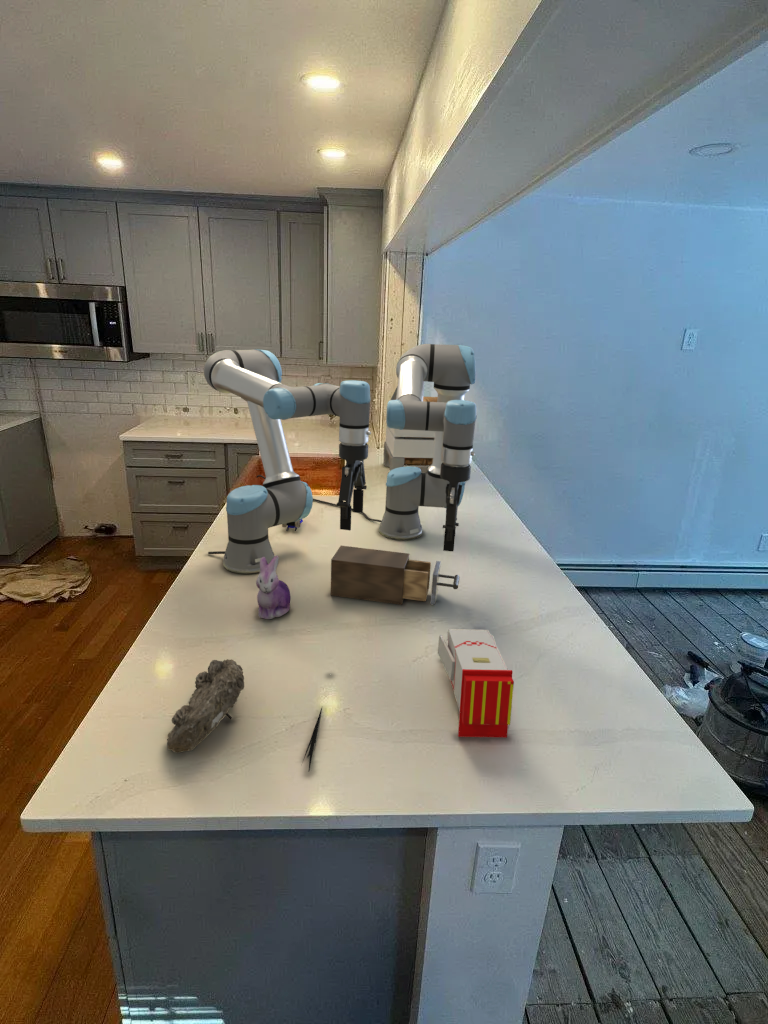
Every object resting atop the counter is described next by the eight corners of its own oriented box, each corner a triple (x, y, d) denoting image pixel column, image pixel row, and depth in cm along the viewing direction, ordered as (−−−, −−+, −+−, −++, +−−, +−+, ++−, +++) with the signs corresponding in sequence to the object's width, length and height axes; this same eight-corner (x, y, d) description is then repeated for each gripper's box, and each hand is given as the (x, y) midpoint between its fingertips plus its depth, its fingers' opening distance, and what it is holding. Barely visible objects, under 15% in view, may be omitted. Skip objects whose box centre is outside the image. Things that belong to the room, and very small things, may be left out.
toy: (488, 613, 130) (523, 677, 101) (484, 667, 133) (517, 744, 104) (435, 612, 130) (455, 676, 101) (432, 666, 133) (451, 743, 103)
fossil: (192, 660, 117) (244, 628, 112) (224, 691, 120) (276, 661, 115) (142, 746, 98) (202, 712, 93) (182, 779, 101) (242, 748, 96)
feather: (331, 679, 122) (336, 673, 122) (307, 777, 96) (313, 769, 95) (324, 675, 122) (329, 669, 121) (298, 772, 95) (304, 764, 95)
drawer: (458, 592, 158) (461, 563, 155) (455, 608, 150) (459, 577, 147) (373, 581, 162) (374, 553, 159) (366, 596, 154) (367, 566, 151)
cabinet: (407, 588, 161) (409, 553, 158) (401, 604, 152) (404, 568, 148) (340, 579, 165) (340, 545, 161) (330, 595, 155) (331, 559, 152)
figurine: (261, 624, 140) (259, 569, 134) (250, 605, 148) (248, 552, 143) (298, 616, 144) (297, 562, 139) (285, 598, 152) (284, 547, 147)
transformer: (382, 463, 289) (386, 382, 275) (445, 464, 293) (451, 384, 279) (390, 482, 257) (394, 392, 243) (460, 483, 261) (468, 394, 247)
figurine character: (300, 537, 196) (305, 517, 210) (300, 518, 193) (305, 499, 206) (281, 536, 196) (287, 517, 209) (280, 517, 193) (286, 498, 206)
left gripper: (356, 455, 133) (354, 539, 140) (378, 434, 156) (375, 507, 163) (325, 452, 134) (325, 535, 141) (351, 432, 157) (349, 504, 164)
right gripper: (469, 471, 135) (461, 561, 143) (472, 458, 147) (464, 542, 155) (438, 468, 136) (431, 558, 144) (443, 456, 148) (436, 539, 156)
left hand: (351, 520), depth 152 cm, fingers open, 13 cm apart
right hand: (448, 550), depth 150 cm, fingers closed
